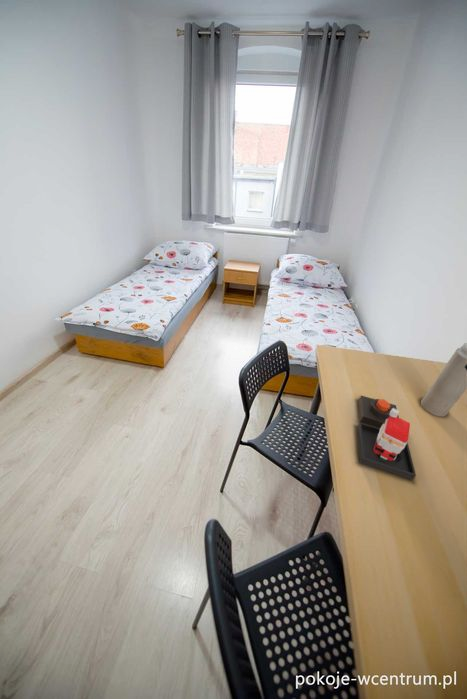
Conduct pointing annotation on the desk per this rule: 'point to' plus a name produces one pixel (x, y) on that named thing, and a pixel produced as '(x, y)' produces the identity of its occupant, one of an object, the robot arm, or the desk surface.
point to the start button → (383, 405)
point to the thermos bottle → (448, 385)
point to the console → (372, 412)
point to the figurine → (392, 437)
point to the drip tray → (371, 459)
